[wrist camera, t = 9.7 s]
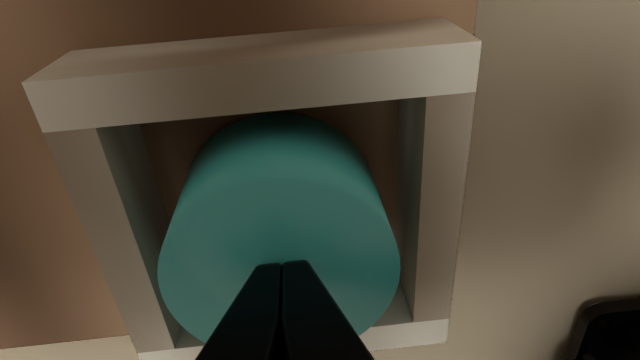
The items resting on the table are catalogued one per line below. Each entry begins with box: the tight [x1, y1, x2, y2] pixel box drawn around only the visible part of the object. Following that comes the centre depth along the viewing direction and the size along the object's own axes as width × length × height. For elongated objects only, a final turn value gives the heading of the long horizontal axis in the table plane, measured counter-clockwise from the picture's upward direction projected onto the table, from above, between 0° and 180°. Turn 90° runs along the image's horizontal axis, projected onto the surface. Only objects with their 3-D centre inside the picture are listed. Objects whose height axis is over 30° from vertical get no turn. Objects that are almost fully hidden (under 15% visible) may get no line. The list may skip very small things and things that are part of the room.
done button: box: [157, 112, 401, 343], centre depth 8 cm, size 4×4×2 cm
